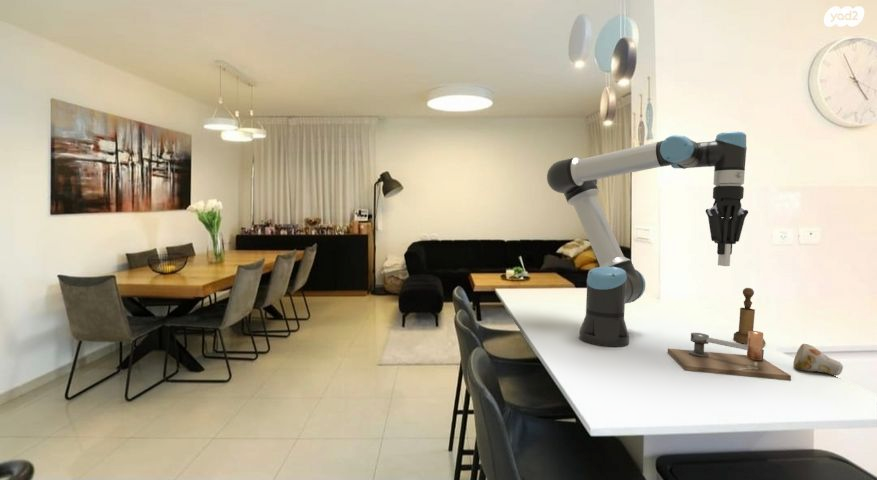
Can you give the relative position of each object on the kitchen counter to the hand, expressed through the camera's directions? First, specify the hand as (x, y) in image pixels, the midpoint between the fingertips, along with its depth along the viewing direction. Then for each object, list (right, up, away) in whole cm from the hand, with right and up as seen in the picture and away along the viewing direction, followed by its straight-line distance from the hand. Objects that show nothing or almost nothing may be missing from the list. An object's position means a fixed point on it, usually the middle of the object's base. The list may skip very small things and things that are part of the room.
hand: (723, 265), depth 129 cm
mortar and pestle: (+17, -26, +15) cm, 35 cm away
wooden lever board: (-6, -27, -10) cm, 29 cm away
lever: (-6, -23, -9) cm, 26 cm away
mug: (+16, -28, -13) cm, 35 cm away
